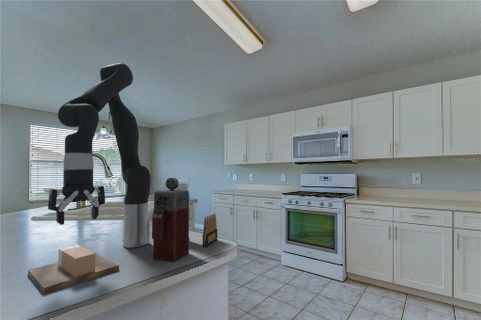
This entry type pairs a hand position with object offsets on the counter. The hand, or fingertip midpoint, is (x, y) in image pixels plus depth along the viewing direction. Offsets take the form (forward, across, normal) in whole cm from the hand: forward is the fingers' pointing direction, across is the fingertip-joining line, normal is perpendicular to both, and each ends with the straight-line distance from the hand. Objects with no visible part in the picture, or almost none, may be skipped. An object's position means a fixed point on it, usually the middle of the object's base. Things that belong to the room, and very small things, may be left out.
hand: (78, 221), depth 70 cm
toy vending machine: (+16, -24, +12) cm, 31 cm away
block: (+11, +1, +7) cm, 13 cm away
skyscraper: (+16, -38, 0) cm, 42 cm away
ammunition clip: (+16, -44, +12) cm, 48 cm away
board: (+15, +1, -1) cm, 15 cm away
